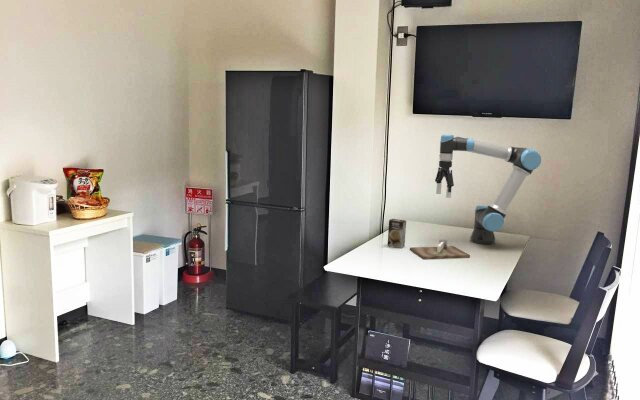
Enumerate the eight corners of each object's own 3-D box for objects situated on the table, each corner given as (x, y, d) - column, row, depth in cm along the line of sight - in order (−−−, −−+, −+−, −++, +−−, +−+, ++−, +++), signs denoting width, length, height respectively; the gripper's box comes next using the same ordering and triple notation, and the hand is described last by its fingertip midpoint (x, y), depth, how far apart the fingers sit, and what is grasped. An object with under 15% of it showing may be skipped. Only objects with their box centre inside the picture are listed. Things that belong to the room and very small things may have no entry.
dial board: (453, 248, 322) (453, 245, 322) (469, 257, 303) (470, 254, 303) (409, 249, 316) (409, 246, 316) (423, 259, 297) (423, 256, 297)
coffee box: (387, 246, 323) (388, 220, 320) (390, 244, 329) (392, 218, 326) (401, 248, 319) (403, 221, 316) (405, 246, 324) (406, 220, 322)
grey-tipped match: (439, 246, 319) (440, 239, 318) (447, 247, 317) (447, 240, 317) (434, 252, 305) (435, 245, 305) (442, 253, 304) (442, 246, 303)
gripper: (431, 158, 331) (428, 192, 335) (449, 162, 307) (446, 199, 311) (442, 158, 333) (440, 192, 337) (461, 162, 309) (458, 199, 313)
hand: (443, 195), depth 324 cm, fingers open, 13 cm apart
